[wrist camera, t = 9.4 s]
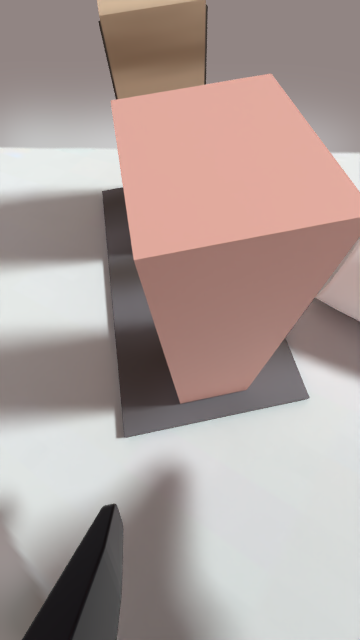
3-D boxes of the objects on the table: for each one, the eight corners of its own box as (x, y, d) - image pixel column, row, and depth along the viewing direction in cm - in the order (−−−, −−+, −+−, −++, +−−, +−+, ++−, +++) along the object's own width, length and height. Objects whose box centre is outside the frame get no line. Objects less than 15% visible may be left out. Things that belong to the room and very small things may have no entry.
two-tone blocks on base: (306, 399, 16) (612, 237, 4) (126, 437, 16) (-93, 378, 4) (216, 175, 26) (233, -66, 14) (104, 195, 26) (21, -35, 14)
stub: (246, 389, 16) (376, 214, 4) (180, 403, 16) (133, 259, 4) (224, 316, 18) (271, 73, 7) (166, 328, 18) (110, 100, 7)
